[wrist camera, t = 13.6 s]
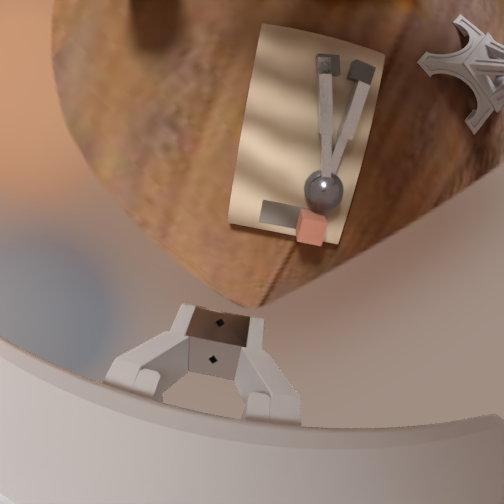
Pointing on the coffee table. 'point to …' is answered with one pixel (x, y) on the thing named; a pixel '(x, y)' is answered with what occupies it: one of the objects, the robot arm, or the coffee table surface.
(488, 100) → the eiffel tower
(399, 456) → the robot arm
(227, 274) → the coffee table surface
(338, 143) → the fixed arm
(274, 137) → the board
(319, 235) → the salmon pink block
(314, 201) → the tong arm
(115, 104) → the coffee table surface
